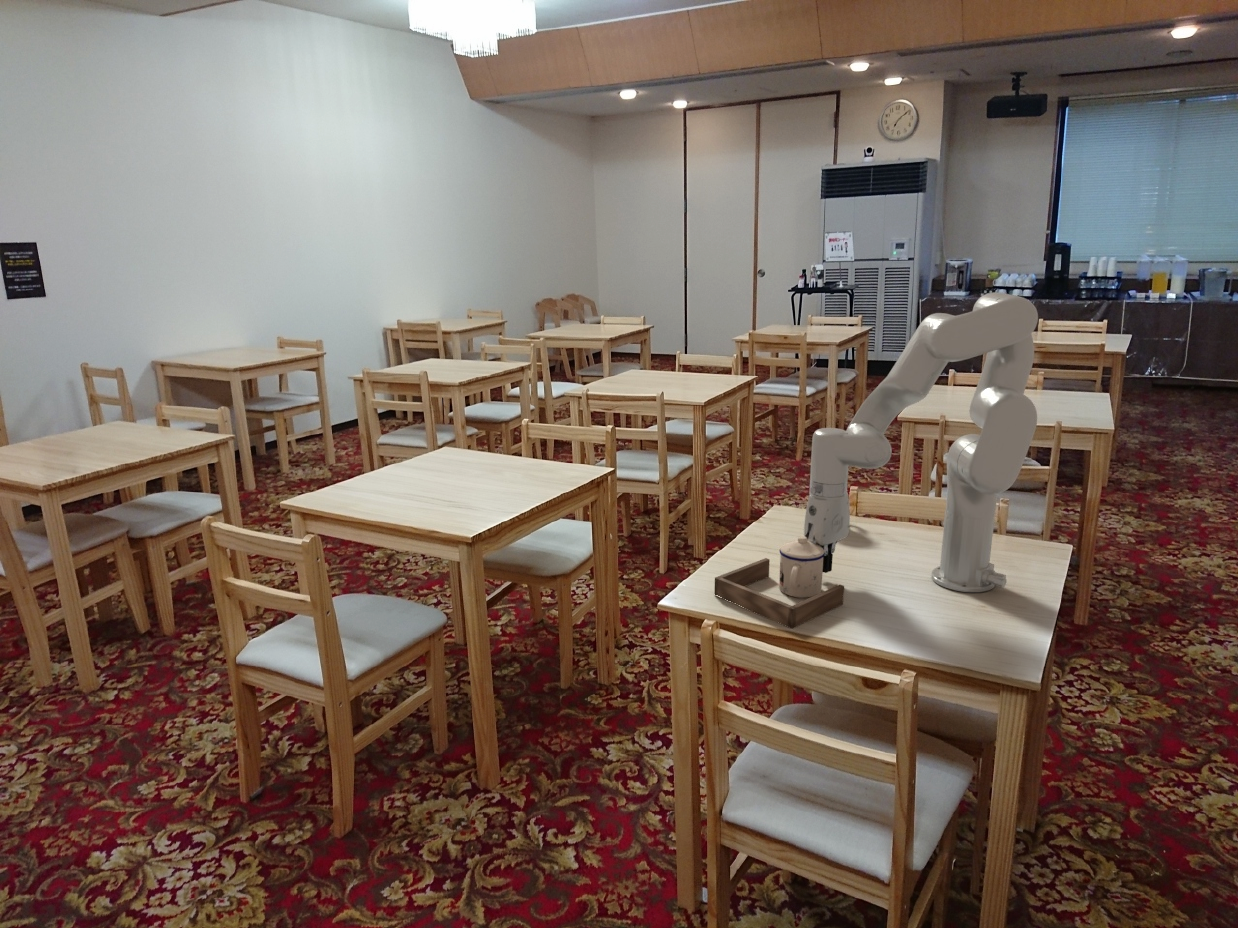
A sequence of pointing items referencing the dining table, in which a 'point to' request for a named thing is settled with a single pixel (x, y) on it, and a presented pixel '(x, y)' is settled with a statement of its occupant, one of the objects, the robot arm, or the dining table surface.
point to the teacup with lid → (801, 568)
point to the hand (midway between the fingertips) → (823, 570)
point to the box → (788, 615)
